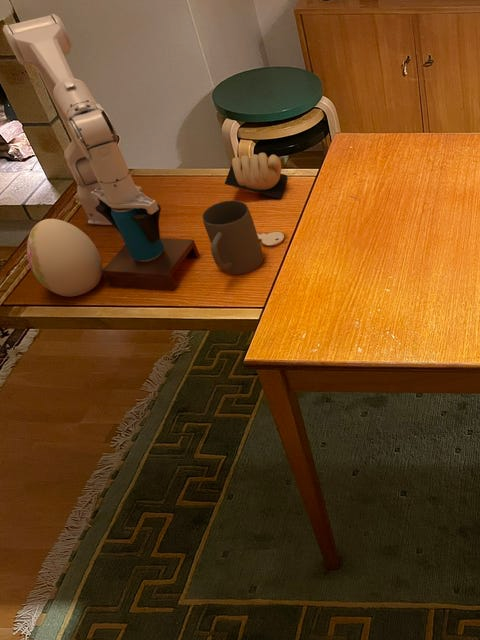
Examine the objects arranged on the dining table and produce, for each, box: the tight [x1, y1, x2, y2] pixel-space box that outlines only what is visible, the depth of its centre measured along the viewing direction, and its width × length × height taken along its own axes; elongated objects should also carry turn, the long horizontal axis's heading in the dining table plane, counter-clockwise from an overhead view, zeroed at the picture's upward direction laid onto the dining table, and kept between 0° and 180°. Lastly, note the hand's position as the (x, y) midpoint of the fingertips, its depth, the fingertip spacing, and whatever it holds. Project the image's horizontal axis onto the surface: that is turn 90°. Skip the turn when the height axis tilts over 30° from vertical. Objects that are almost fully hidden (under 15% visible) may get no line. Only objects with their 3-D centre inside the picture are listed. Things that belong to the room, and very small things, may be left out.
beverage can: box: [111, 207, 164, 262], centre depth 141 cm, size 6×6×12 cm
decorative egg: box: [26, 218, 103, 298], centre depth 141 cm, size 12×12×15 cm
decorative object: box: [224, 152, 288, 200], centre depth 166 cm, size 13×10×10 cm
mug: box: [202, 200, 264, 275], centre depth 143 cm, size 14×9×12 cm
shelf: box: [102, 237, 200, 291], centre depth 147 cm, size 14×12×4 cm
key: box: [257, 231, 285, 247], centre depth 155 cm, size 11×1×5 cm
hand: (140, 236), depth 142 cm, fingers open, 7 cm apart
